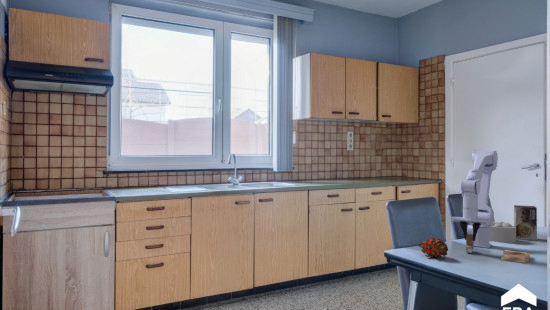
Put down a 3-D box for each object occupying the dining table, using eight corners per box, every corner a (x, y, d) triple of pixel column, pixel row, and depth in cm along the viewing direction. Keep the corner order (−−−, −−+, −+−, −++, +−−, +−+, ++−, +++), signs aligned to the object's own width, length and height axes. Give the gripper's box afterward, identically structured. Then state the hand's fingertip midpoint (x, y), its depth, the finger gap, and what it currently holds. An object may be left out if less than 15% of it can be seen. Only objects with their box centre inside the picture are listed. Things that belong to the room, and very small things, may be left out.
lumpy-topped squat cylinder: (487, 236, 199) (487, 219, 198) (517, 240, 190) (517, 222, 190) (483, 240, 190) (483, 222, 190) (514, 244, 182) (514, 225, 182)
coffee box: (534, 238, 195) (535, 205, 195) (537, 241, 189) (537, 207, 189) (513, 236, 199) (513, 204, 199) (515, 239, 193) (515, 206, 193)
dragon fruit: (449, 264, 154) (420, 262, 163) (455, 248, 159) (427, 247, 168) (441, 249, 151) (412, 247, 160) (447, 233, 157) (419, 233, 165)
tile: (506, 260, 157) (506, 257, 157) (507, 256, 162) (507, 253, 162) (523, 262, 154) (523, 259, 154) (524, 259, 159) (524, 256, 159)
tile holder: (500, 259, 156) (500, 255, 156) (503, 253, 165) (503, 249, 165) (528, 263, 151) (528, 259, 151) (529, 257, 160) (529, 253, 160)
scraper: (465, 252, 165) (465, 235, 165) (467, 249, 170) (468, 233, 170) (471, 253, 164) (472, 236, 164) (474, 250, 169) (474, 234, 169)
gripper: (450, 207, 168) (449, 239, 168) (488, 210, 160) (488, 244, 160) (453, 205, 174) (453, 236, 174) (490, 208, 166) (490, 240, 166)
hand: (470, 239), depth 167 cm, fingers closed on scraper, 2 cm apart
